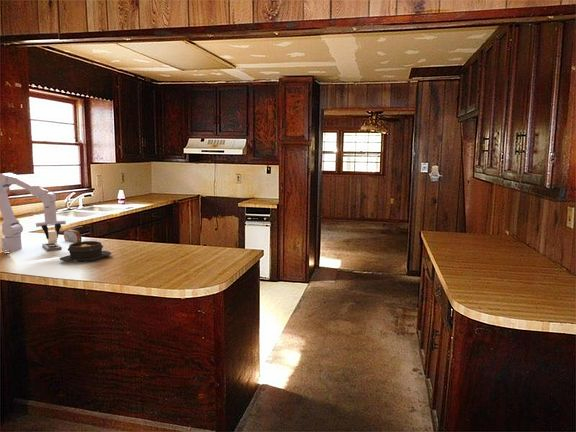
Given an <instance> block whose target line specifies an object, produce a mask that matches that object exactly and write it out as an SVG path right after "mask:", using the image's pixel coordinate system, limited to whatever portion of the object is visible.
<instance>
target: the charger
mask: <svg viewBox="0 0 576 432" xmlns="http://www.w3.org/2000/svg"><path fill="white" fill-rule="evenodd" d="M48 236H49V239H47V238H46V239H47V243H50V244H51V243H57V244H58V238H57V231H55V229H52V230H49V229H48Z"/></svg>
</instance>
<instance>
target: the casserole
mask: <svg viewBox="0 0 576 432" xmlns="http://www.w3.org/2000/svg"><path fill="white" fill-rule="evenodd" d="M103 248H104V246H103V244H102V243H101V241H96V240H87V241H85V240H84V241H81V242H73V243H71V244H69V246H68V248H67V251H68V253H69V255H64V256H61V257H60V258H59V260H60V261H62V262H67V263H69V262H77V261H79V262H78V263H85V262H84V261H88V262H92V261H96V260H98V259H100V258H104V257H107V256H111V254H112V252H110V251H109V250H103Z"/></svg>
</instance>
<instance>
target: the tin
mask: <svg viewBox="0 0 576 432" xmlns="http://www.w3.org/2000/svg"><path fill="white" fill-rule="evenodd" d="M63 239H64V241H65V242H68V241H69V242H73V243H77V242H82V235H81V233H80V231H78V230H76V229H71V228H69V229H66V230H64V231H63Z"/></svg>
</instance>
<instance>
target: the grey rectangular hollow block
mask: <svg viewBox="0 0 576 432" xmlns="http://www.w3.org/2000/svg"><path fill="white" fill-rule="evenodd" d="M41 246H42V248H43V249H44V250H45V251H46V252H52V251H61V250H62V249H63V248H62V246H61V245H60V244H58V242H57V243H51V244H50V243H48V242H47V243H42V245H41Z"/></svg>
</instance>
